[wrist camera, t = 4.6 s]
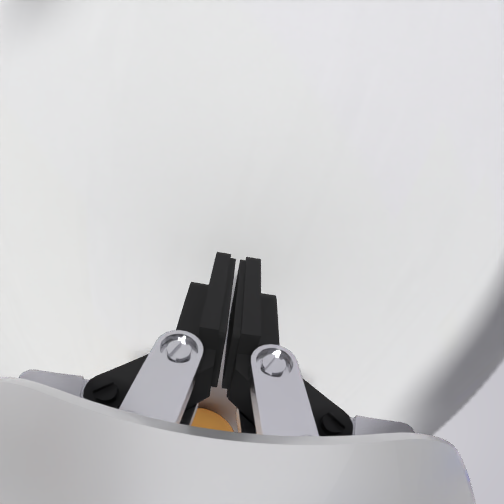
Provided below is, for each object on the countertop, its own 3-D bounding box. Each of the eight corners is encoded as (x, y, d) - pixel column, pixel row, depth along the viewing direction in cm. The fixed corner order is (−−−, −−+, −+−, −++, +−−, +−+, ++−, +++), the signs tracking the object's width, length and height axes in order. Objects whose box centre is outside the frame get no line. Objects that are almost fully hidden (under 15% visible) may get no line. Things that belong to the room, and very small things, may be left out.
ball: (240, 399, 20) (244, 444, 14) (230, 450, 20) (232, 496, 15) (166, 388, 19) (151, 430, 14) (164, 440, 20) (152, 484, 14)
